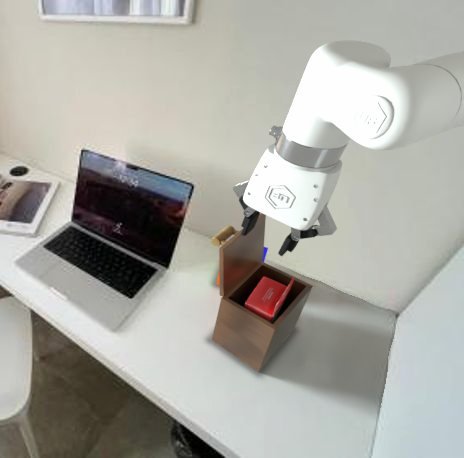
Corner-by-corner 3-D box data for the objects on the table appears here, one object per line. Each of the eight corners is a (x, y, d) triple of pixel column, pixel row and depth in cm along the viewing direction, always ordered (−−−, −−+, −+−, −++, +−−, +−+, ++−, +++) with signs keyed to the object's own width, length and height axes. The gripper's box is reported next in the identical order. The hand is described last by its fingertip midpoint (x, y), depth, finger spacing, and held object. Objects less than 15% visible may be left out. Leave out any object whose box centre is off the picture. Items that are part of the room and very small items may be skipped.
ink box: (248, 313, 75) (267, 263, 66) (273, 325, 72) (297, 276, 63) (230, 340, 70) (248, 291, 61) (256, 355, 68) (279, 306, 58)
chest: (293, 329, 72) (313, 285, 64) (258, 372, 66) (275, 329, 58) (247, 303, 78) (260, 260, 70) (211, 340, 72) (221, 297, 64)
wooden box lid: (266, 213, 65) (238, 207, 69) (223, 249, 59) (196, 240, 63) (263, 259, 70) (238, 251, 74) (223, 297, 64) (198, 285, 68)
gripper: (233, 135, 51) (206, 226, 63) (372, 186, 41) (308, 283, 53) (260, 116, 54) (230, 207, 66) (395, 159, 44) (330, 256, 56)
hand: (265, 240), depth 60 cm, fingers open, 5 cm apart
